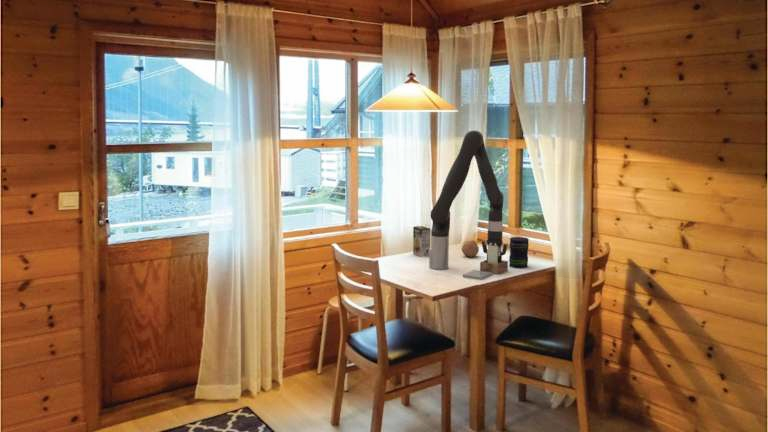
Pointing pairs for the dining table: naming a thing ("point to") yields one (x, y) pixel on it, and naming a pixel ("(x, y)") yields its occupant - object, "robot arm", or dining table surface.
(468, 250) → the onion
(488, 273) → the blue-grey square panel
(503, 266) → the crate
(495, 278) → the dining table surface
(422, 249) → the coffee box
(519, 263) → the dark blue cylinder
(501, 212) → the robot arm
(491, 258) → the tea tin
